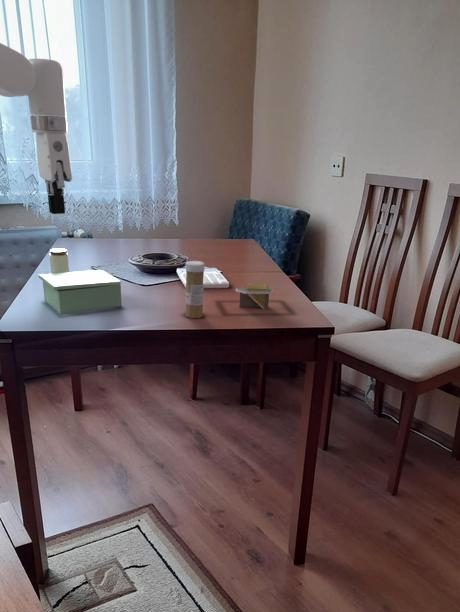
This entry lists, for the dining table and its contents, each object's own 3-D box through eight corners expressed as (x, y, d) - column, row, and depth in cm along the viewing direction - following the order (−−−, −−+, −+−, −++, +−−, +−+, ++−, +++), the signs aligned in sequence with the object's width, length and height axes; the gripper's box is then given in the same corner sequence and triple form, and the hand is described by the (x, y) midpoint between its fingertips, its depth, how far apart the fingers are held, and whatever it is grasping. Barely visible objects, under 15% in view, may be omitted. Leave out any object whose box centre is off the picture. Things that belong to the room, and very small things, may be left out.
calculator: (185, 289, 162) (185, 282, 161) (175, 272, 179) (175, 266, 178) (230, 288, 165) (230, 282, 164) (216, 272, 182) (216, 266, 181)
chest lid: (54, 290, 130) (54, 286, 130) (38, 277, 140) (38, 274, 139) (120, 284, 139) (120, 281, 139) (101, 273, 148) (101, 269, 148)
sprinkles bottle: (184, 313, 141) (184, 260, 135) (202, 313, 142) (203, 260, 136) (186, 319, 137) (186, 264, 131) (204, 318, 138) (205, 264, 132)
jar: (56, 293, 152) (52, 252, 147) (50, 288, 156) (46, 249, 151) (73, 291, 155) (69, 251, 149) (67, 287, 158) (64, 247, 153)
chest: (60, 317, 134) (58, 291, 131) (45, 303, 143) (42, 278, 140) (121, 309, 142) (120, 284, 139) (103, 296, 151) (101, 273, 148)
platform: (292, 314, 144) (295, 290, 141) (225, 315, 141) (226, 290, 138) (281, 301, 155) (283, 278, 152) (217, 302, 152) (218, 278, 149)
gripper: (77, 127, 118) (84, 217, 126) (55, 125, 129) (62, 208, 137) (42, 125, 114) (51, 218, 122) (22, 123, 125) (32, 209, 133)
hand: (57, 213), depth 130 cm, fingers closed
